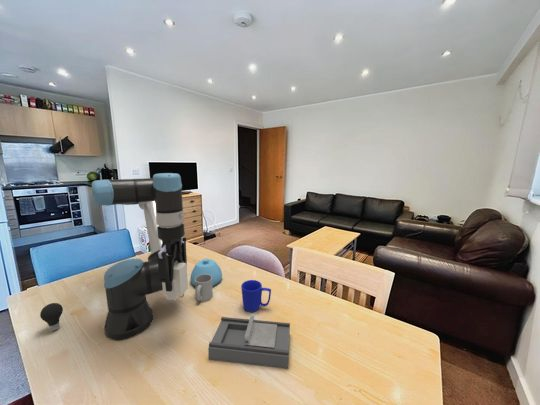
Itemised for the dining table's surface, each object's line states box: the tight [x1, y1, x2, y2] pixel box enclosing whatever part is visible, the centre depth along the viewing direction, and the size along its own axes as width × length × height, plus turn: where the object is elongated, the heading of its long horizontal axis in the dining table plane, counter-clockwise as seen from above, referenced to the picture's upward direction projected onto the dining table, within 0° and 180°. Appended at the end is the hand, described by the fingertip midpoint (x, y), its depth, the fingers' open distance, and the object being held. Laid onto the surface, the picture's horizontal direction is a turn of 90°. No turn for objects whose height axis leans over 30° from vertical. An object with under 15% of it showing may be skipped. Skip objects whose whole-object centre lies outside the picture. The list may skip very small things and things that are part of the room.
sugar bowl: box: [190, 258, 223, 287], centre depth 111 cm, size 15×15×12 cm
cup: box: [194, 274, 214, 303], centre depth 97 cm, size 7×10×9 cm
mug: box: [240, 279, 272, 312], centre depth 91 cm, size 8×12×10 cm
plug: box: [162, 260, 189, 300], centre depth 72 cm, size 6×4×12 cm
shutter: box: [245, 315, 277, 349], centre depth 72 cm, size 9×10×4 cm
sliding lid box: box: [207, 316, 291, 369], centre depth 73 cm, size 24×13×5 cm, turn 83°
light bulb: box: [39, 302, 64, 332], centre depth 78 cm, size 6×6×10 cm
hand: (176, 293), depth 73 cm, fingers closed on plug, 4 cm apart
